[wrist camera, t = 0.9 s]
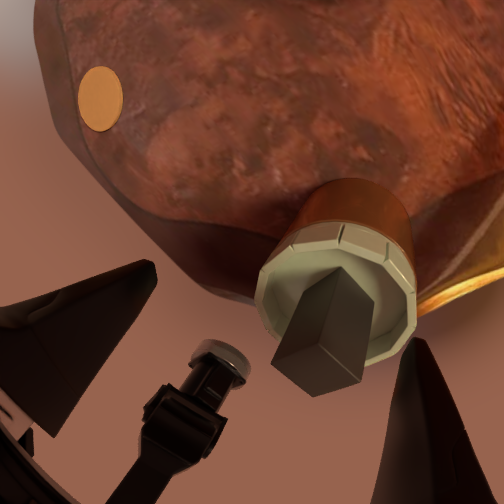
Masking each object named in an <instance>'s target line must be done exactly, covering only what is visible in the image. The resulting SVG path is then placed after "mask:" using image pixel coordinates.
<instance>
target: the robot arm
mask: <svg viewBox="0 0 504 504" xmlns="http://www.w3.org/2000/svg"><path fill="white" fill-rule="evenodd" d="M157 281H158V279H157V274H156V269H155V264H154V263H153V262H152V261H149V260H146V259H142V260H139V261H136V262H133V263H130V264H128V265H125V266H122V267H119V268H116V269H114V270H111V271H108V272H105V273H102V274H99V275H96V276H94V277H91V278H88V279H86V280H83V281H80V282H77V283H75V284H72V285H69V286H66V287H64V288H61V289H58V290H55V291H53V292H50V293H47V294H44V295H41V296H38V297H35V298H32V299H29V300H25V301H22V302H19V303H15V304H12V305H9V306H5V307H0V504H80V503H79V502H78V501H77V500H76V499H74V498H73V497H72V496H71V495H70V494H69V493H67V492H66V491H65V490H64V489H63V488H62V487H61V486H60V485H59V484H57V483H56V482H55V481H54V480H53V479H52V478H51V477H50V476H49V475H48V474H47V473H46V472H45V471H44V470H43V469H42V468H41V467H40V466H39V465H38V464H37V463H36V462H35V461H34V460H33V459H32V457H33V456H34V444H33V429H32V428H31V427H30V426H31V425H32V424H33V422H35V423H37V424H38V425H39V426H40V427H41V428H42V429H43V430H45V431H46V432H47V433H48V434H49V435H50V436H51V437H53V438H55V437H56V435H57V434H58V432H59V431H60V429H61V428H62V426H63V424H64V423H65V421H66V419H67V418H68V417H69V415H70V413H71V412H72V410H73V409H74V407H75V406H76V404H77V403H78V401H79V400H80V398H81V397H82V395H83V394H84V392H85V391H86V389H87V388H88V386H89V385H90V383H91V382H92V380H93V379H94V377H95V376H96V375H97V373H98V371H99V370H100V369H101V367H102V366H103V364H104V363H105V362H106V360H107V359H108V357H109V356H110V354H111V353H112V352H113V350H114V348H115V347H116V346H117V345H118V343H119V342H120V340H121V339H122V338H123V336H124V335H125V333H126V332H127V331H128V329H129V328H130V327H131V325H132V324H133V322H134V321H135V320H136V318H137V317H138V315H139V314H140V312H141V310H142V309H143V307H144V305H145V304H146V302H147V300H148V299H149V297H150V295H151V294H152V292H153V290H154V289H155V287H156V285H157ZM188 365H189V367H191V368H192V369H193V370H192V371H191V373H190V374H189V376H188V377H187V378H186V380H185V381H184V383H183V384H182V386H181V387H180V388H179V390H178V389H176V388H175V387H173V386H172V385H171V384H170V383H168V384H167V385H162V386H161V388H160V389H159V390H158V392H157V393H156V394H155V395H154V396H153V397H152V398H151V399H150V400H149V402H147V403H146V404H145V406H144V407H143V409H144V414H143V418H142V421H143V422H144V423H145V424H144V425H143V427H142V429H141V432H140V435H139V439H138V459H137V461H136V462H135V464H134V465H133V466H132V468H131V469H130V470H129V472H128V473H127V475H126V476H125V477H124V479H123V480H122V481H121V483H120V484H119V486H118V487H117V488H116V489H115V491H114V492H113V494H112V495H111V496H110V498H109V499H108V500H107V502H106V503H105V504H155V503H156V501H157V499H158V498H159V497H160V495H161V493H162V492H163V490H164V489H165V487H166V486H167V484H168V482H169V481H170V479H171V478H172V477H173V476H175V475H178V474H180V473H182V472H184V471H186V470H188V469H190V468H191V467H193V466H194V465H196V464H197V463H198V462H199V461H200V459H201V458H203V459H206V457H207V456H208V455H209V454H210V453H211V451H212V450H213V448H214V446H215V445H216V443H217V441H218V439H219V437H220V435H221V433H222V431H223V429H224V427H225V425H226V422H227V420H228V418H226V417H222V416H221V415H219V414H217V413H218V411H219V409H220V407H221V406H222V404H223V402H224V401H225V399H226V397H227V396H228V394H229V392H230V390H231V389H232V388H235V387H238V386H242V385H244V384H245V383H246V380H245V379H244V378H243V377H241V376H240V375H239V374H237V373H236V372H235V371H234V370H233V369H231V368H230V367H229V366H228V365H226V364H225V363H224V362H223V361H221V360H220V359H219V358H218V357H217V356H215V355H214V354H213V353H212V352H207V353H205V354H203V355H201V356H199V357H197V358H196V359H194V360H192V361H190V362H189V363H188ZM464 429H465V427H464V424H463V421H462V419H461V417H460V414H459V412H458V409H457V407H456V404H455V402H454V400H453V397H452V395H451V393H450V390H449V388H448V386H447V384H446V382H445V380H444V377H443V375H442V373H441V371H440V369H439V367H438V364H437V363H436V360H435V358H434V356H433V354H432V352H431V350H430V348H429V346H428V344H427V342H426V341H425V340H424V339H421V338H417V337H413V338H412V339H411V341H410V342H409V344H408V346H407V347H406V349H405V351H404V352H403V354H402V357H401V361H400V365H399V371H398V375H397V379H396V384H395V388H394V392H393V397H392V401H391V407H390V413H389V419H388V426H387V432H386V437H385V443H384V448H383V453H382V458H381V463H380V467H379V471H378V476H377V480H376V484H375V488H374V492H373V496H372V499H371V503H370V504H498V503H497V502H496V500H495V498H494V496H493V494H492V491H491V489H490V487H489V484H488V482H487V480H486V477H485V475H484V473H483V471H482V468H481V466H480V464H479V462H478V459H477V457H476V455H475V452H474V450H473V447H472V445H471V442H470V440H469V437H468V434H467V432H466V430H464Z"/></svg>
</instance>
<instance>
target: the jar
mask: <svg viewBox="0 0 504 504" xmlns="http://www.w3.org/2000/svg"><path fill="white" fill-rule="evenodd" d="M339 267H343V268H344V269H345V271H346V272H347V273H348V274H349V275H350V276H351V277H352V278H353V279H354V280H355V281H356V282H357V283H358V284H359V286H360V287H361V288H362V289H363V290H364V291H365V292H366V293H367V294H368V295H369V296H370V298H371V299H372V300H373V301H374V302H375V304H374V311H373V318H372V325H371V332H370V338H369V344H368V349H367V355H366V360H365V365H364V366H365V367H366V366H368V365H371V364H373V363H376V362H378V361H381V360H383V359H386V358H388V357H390V356H393V355H394V354H395V353H397V352H398V351H399V350H400V348H401V347H402V346H403V345H404V343H405V342H406V341H407V339H408V338H409V337H410V335H411V334H412V333H413V331H414V330H415V326H416V324H417V322H416V294H417V277H416V265H415V255H414V246H413V237H412V229H411V224H410V220H409V217H408V214H407V212H406V210H405V208H404V206H403V205H402V204H401V202H400V201H399V200H398V199H397V197H396V196H395V195H394V194H392V193H391V192H390V191H389V190H387V189H386V188H384V187H383V186H381V185H379V184H376V183H374V182H371V181H368V180H364V179H358V178H346V179H339V180H335V181H332V182H329V183H327V184H325V185H323V186H321V187H320V188H318V189H317V190H316V191H314V192H313V193H312V194H311V195H310V197H309V198H308V199H307V201H306V202H305V203H304V205H303V206H302V208H301V210H300V211H299V213H298V214H297V216H296V217H295V219H294V220H293V222H292V223H291V225H290V226H289V228H288V229H287V231H286V233H285V234H284V236H283V237H282V239H281V240H280V242H279V243H278V245H277V246H276V248H275V249H274V251H273V252H272V253H271V255H270V256H269V258H268V259H267V261H266V262H265V264H264V265H263V267H262V268H261V270H260V273H259V278H258V282H257V287H256V292H255V297H254V300H255V302H254V303H255V305H256V307H257V310H258V312H259V314H260V317H261V319H262V321H263V323H264V326H265V328H266V330H269V331H268V332H269V333H270V334H271V335H272V336H273V337H274V338H275V339H277V340H278V341H279V342H281V340H282V338H283V336H284V333H285V331H286V329H287V327H288V325H289V323H290V320H291V318H292V316H293V314H294V311H295V309H296V307H297V305H298V302H299V300H300V298H301V296H302V293H303V291H305V290H306V289H308V288H309V287H311V286H312V285H314V284H315V283H317V282H318V281H320V280H321V279H323V278H324V277H326V276H327V275H329V274H330V273H332V272H333V271H335V270H336V269H338V268H339Z"/></svg>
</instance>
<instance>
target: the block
mask: <svg viewBox="0 0 504 504" xmlns="http://www.w3.org/2000/svg"><path fill="white" fill-rule="evenodd" d="M374 304H375V302H374V301H373V300H372V299H371V298H370V296H369V295H368V294H367V293H366V292H365V291H364V290H363V289H362V288H361V287H360V286H359V284H358V283H357V282H356V281H355V280H354V279H353V278H352V277H351V276H350V275H349V274H348V273H347V272H346V271H345V269H344V268H343V267H339V268H338V269H336V270H335V271H333V272H332V273H330V274H329V275H327V276H326V277H324V278H323V279H321V280H320V281H318V282H317V283H315V284H314V285H312V286H311V287H309V288H308V289H306V290H305V291H303V293H302V296H301V298H300V300H299V302H298V305H297V307H296V309H295V311H294V314H293V316H292V318H291V320H290V323H289V325H288V327H287V329H286V331H285V333H284V336H283V338H282V340H281V342H280V345H279V346H278V349H277V351H276V353H275V355H274V357H273V359H272V361H271V365H272V366H274V367H275V368H276V369H277V370H279V371H280V372H281V373H283V374H284V375H285V376H286V377H287V378H288V379H290V380H291V381H292V382H294V383H295V384H296V385H297V386H299V387H300V388H301V389H302V390H304V391H305V392H306V393H308V394H309V395H310V396H311V397H316V396H319V395H323V394H326V393H329V392H333V391H336V390H339V389H342V388H345V387H348V386H351V385H354V384H357V383H360V382H361V380H362V375H363V370H364V365H365V360H366V355H367V349H368V344H369V338H370V332H371V325H372V318H373V311H374Z"/></svg>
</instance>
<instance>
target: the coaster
mask: <svg viewBox="0 0 504 504" xmlns="http://www.w3.org/2000/svg"><path fill="white" fill-rule="evenodd" d="M78 103H79V109H80V113H81V115H82V118H83V120H84V121H85V123H86V124H87V125H88V126H89V127H90V128H91V129H93V130H95V131H105V130H108V129H110V128H111V127H113V126H114V124H115V123H116V122H117V120H118V118H119V116H120V114H121V110H122V104H123V93H122V87H121V84H120V81H119V79H118V77H117V75H116V74H115V73H114V72H113V71H112V70H111V69H109V68H107V67H104V66H100V67H95V68H93V69H91V70H90V71H88V72H87V73H86V75H85V76H84V78H83V79H82V82H81V84H80V88H79V94H78Z"/></svg>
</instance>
